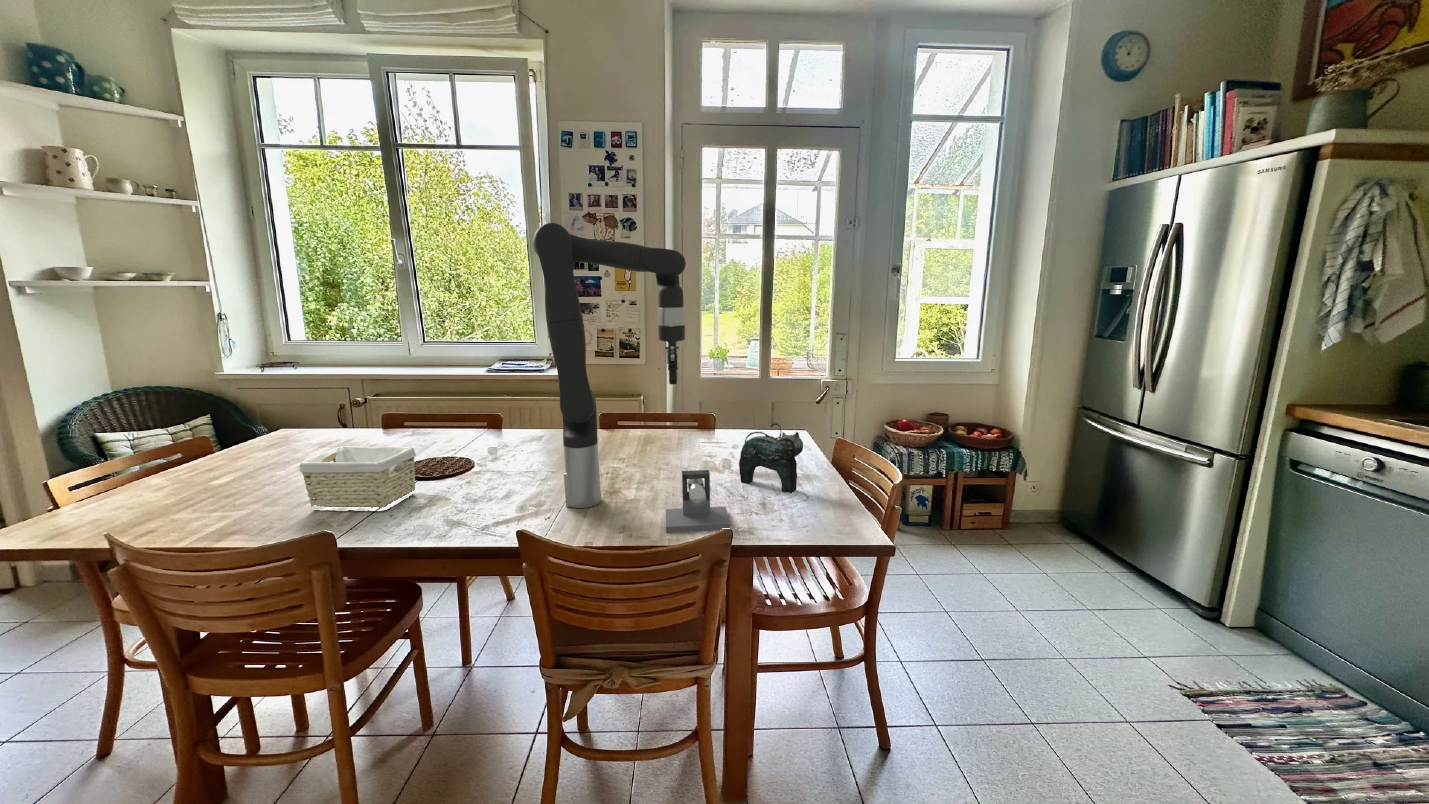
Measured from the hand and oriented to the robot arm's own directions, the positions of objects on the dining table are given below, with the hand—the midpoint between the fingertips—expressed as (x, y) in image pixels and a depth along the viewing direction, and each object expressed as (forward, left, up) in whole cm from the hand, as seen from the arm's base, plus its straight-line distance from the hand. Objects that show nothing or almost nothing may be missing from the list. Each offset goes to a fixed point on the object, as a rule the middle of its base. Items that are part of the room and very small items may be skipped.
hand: (673, 383), depth 156 cm
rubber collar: (+5, -22, -27) cm, 35 cm away
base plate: (+5, -25, -32) cm, 41 cm away
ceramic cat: (+28, -2, -32) cm, 43 cm away
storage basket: (-89, -1, -32) cm, 94 cm away
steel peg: (+5, -26, -25) cm, 36 cm away
